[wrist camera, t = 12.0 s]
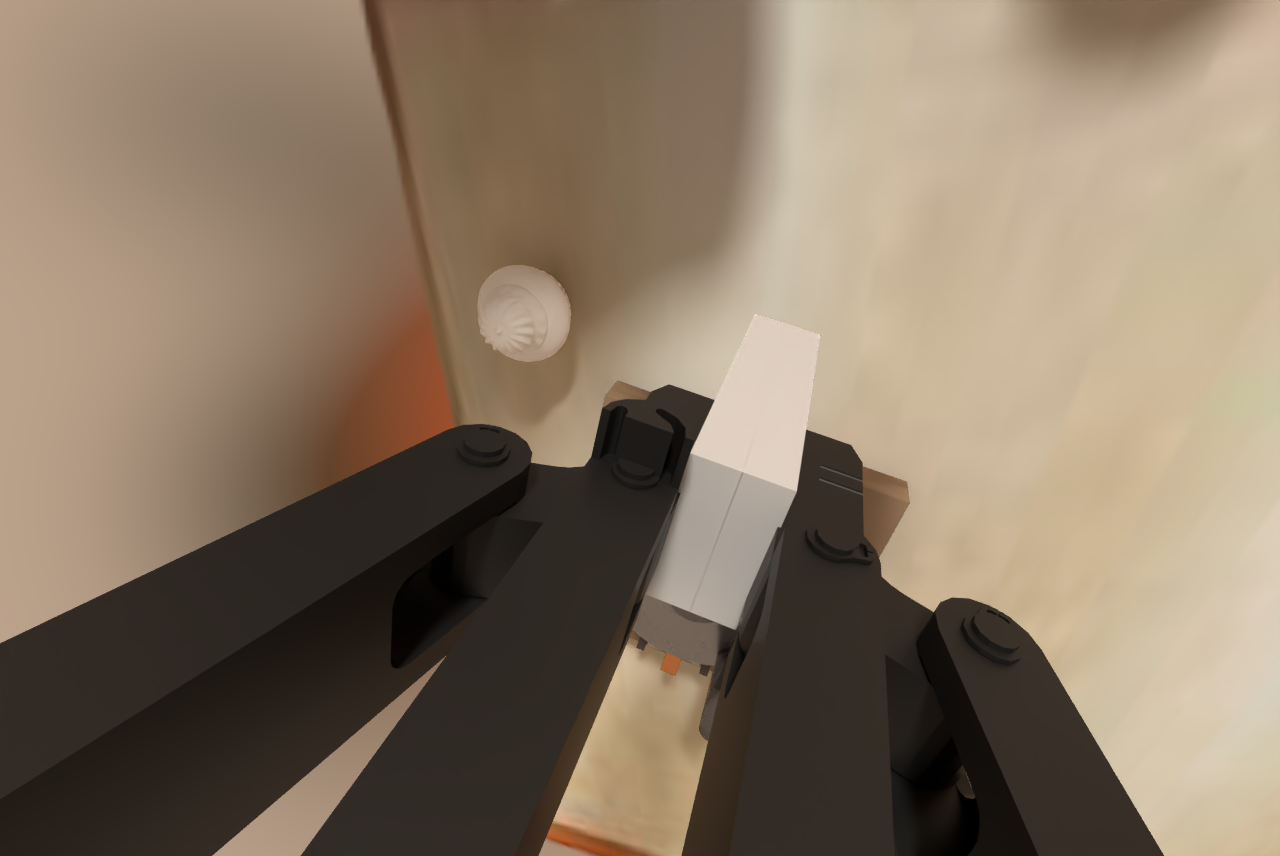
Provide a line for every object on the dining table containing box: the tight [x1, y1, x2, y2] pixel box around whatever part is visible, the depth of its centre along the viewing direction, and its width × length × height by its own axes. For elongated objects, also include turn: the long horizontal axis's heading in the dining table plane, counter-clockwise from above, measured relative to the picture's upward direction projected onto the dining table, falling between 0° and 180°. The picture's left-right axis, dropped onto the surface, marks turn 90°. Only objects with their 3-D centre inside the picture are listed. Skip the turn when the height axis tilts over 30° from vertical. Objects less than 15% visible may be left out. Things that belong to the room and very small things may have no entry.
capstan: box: [632, 594, 743, 741], centre depth 42 cm, size 16×15×8 cm
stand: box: [603, 381, 910, 676], centre depth 46 cm, size 20×20×3 cm
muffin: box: [477, 265, 572, 362], centre depth 40 cm, size 6×6×7 cm
